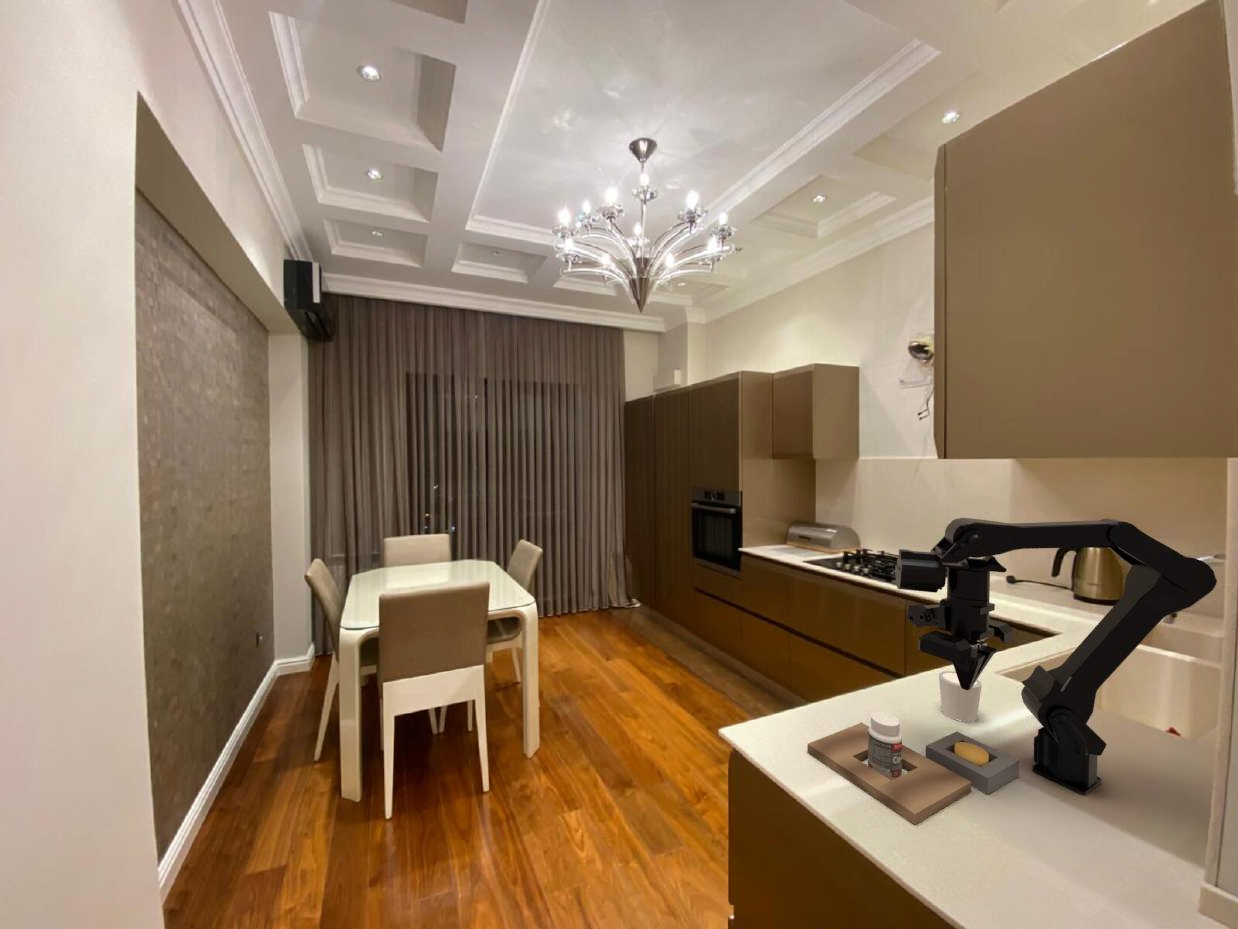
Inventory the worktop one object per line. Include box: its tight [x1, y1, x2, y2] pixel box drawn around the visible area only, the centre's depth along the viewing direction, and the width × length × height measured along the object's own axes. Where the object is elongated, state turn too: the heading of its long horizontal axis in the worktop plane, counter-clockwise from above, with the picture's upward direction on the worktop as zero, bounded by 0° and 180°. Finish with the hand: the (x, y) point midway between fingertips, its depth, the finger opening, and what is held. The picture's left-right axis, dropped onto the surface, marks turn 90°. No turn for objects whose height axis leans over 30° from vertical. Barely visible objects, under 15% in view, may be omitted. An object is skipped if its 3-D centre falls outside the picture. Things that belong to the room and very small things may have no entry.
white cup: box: [938, 670, 983, 723], centre depth 94 cm, size 7×7×7 cm
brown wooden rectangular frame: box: [806, 722, 972, 826], centre depth 77 cm, size 18×14×2 cm
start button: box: [955, 742, 989, 767], centre depth 78 cm, size 4×4×2 cm
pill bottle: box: [867, 711, 903, 780], centre depth 77 cm, size 5×5×8 cm
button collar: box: [925, 731, 1020, 796], centre depth 78 cm, size 9×9×2 cm
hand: (965, 689), depth 81 cm, fingers closed
